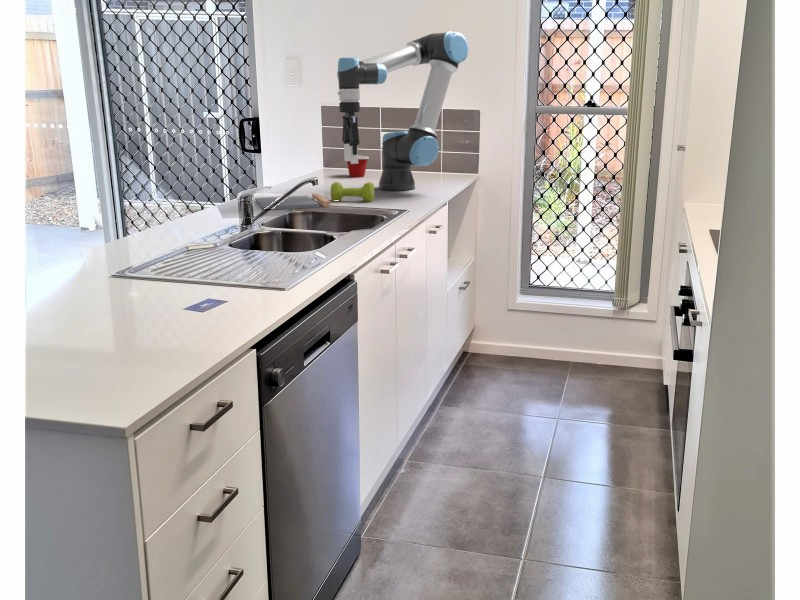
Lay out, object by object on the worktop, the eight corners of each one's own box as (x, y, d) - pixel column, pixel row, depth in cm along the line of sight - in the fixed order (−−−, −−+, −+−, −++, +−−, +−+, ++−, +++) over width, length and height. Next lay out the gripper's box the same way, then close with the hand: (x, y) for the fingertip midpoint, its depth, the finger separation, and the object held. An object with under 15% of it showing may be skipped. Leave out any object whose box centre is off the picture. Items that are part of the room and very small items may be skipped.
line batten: (317, 198, 307) (317, 193, 306) (329, 206, 285) (329, 201, 284) (312, 198, 306) (312, 193, 306) (324, 207, 284) (323, 201, 283)
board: (307, 198, 306) (307, 195, 305) (318, 207, 283) (318, 204, 283) (255, 201, 300) (255, 198, 300) (263, 210, 278) (262, 206, 278)
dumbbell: (375, 200, 302) (375, 181, 300) (372, 203, 294) (372, 183, 292) (333, 199, 304) (333, 181, 302) (329, 202, 296) (328, 183, 294)
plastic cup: (363, 183, 353) (362, 156, 350) (341, 183, 357) (341, 156, 354) (373, 181, 363) (372, 155, 359) (352, 180, 367) (351, 154, 364)
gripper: (333, 101, 299) (335, 160, 304) (346, 102, 278) (348, 165, 284) (352, 100, 301) (354, 159, 306) (366, 101, 280) (368, 164, 286)
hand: (351, 162), depth 295 cm, fingers open, 10 cm apart
